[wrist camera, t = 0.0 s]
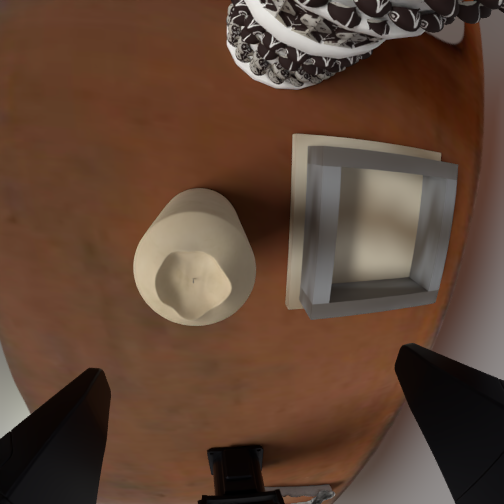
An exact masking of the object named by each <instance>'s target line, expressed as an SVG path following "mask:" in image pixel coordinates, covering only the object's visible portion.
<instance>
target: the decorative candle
mask: <svg viewBox="0 0 504 504" xmlns="http://www.w3.org/2000/svg"><path fill="white" fill-rule="evenodd" d="M460 1H463V0H231V2H232V4H231V5H230V6H229V7H228V16H227V20H226V22H227V46H228V48H229V50H230V53H231V55H232V57H233V59H234V61H235V63H236V64H237V65H238V66H239V67H240V68H241V69H242V70H243V71H245V72H246V73H247V74H248V75H249V76H250V77H251V78H252V79H254V80H256V81H259V82H261V83H264V84H266V85H268V86H271V87H273V88H278V89H295V90H299V89H302V88H305V87H308V86H312V85H315V84H318V83H320V82H321V81H322V80H323V79H328V78H330V76H333V75H335V74H336V73H337V72H340V71H343V70H345V68H346V67H349V66H352V65H354V64H355V63H357V62H358V61H359V59H366V58H368V57H370V56H371V54H372V52H373V49H374V48H376V47H378V46H379V45H380V44H382V43H383V42H384V41H385V40H388V39H395V38H404V37H413V36H418V35H421V34H422V33H423V32H425V31H428V32H432V33H435V32H439V31H441V30H442V29H443V27H444V24H445V25H447V24H451V23H452V22H453V21H454V20H455V17H456V16H457V17H459V18H460V19H461V20H462V21H464V22H466V23H470V24H473V23H477V22H479V20H480V18H487V17H489V16H490V14H491V11H492V9H499V10H500V11H502V12H503V13H504V0H474V1H469V2H460Z"/></svg>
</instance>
